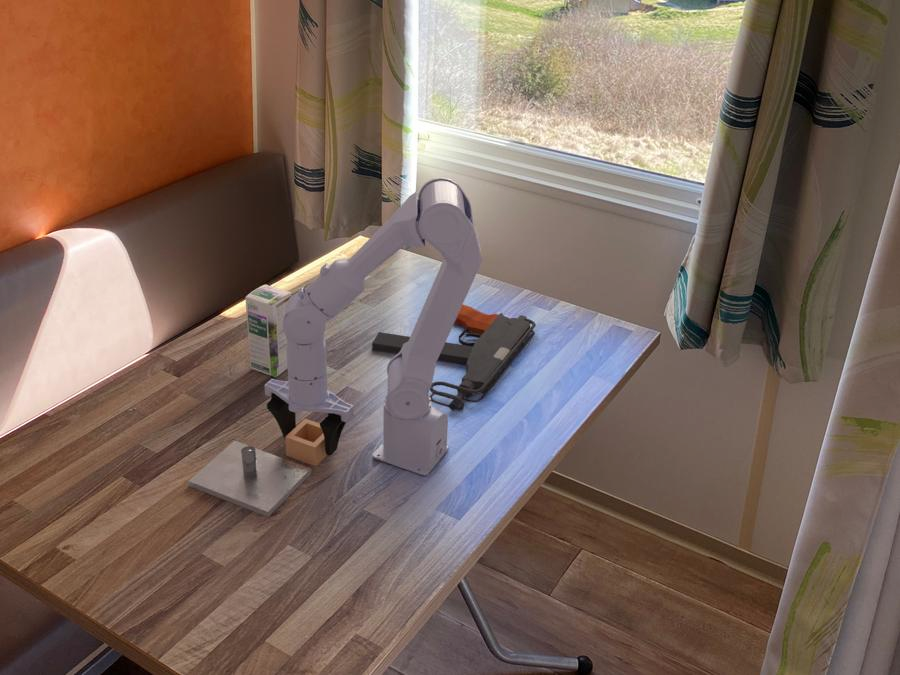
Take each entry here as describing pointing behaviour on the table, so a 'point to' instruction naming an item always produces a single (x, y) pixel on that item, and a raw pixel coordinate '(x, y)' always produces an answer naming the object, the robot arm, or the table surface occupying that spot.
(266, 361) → the syrup box
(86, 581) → the table surface
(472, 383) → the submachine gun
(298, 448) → the ring
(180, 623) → the table surface
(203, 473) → the plate
